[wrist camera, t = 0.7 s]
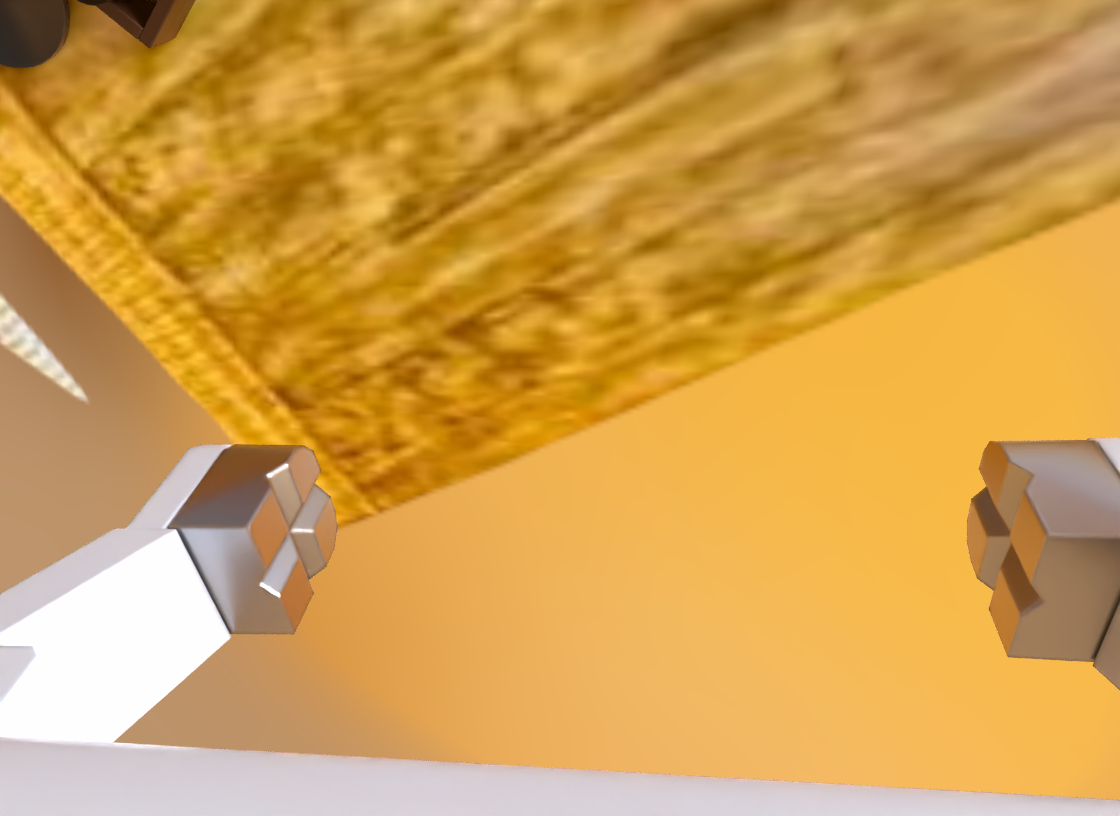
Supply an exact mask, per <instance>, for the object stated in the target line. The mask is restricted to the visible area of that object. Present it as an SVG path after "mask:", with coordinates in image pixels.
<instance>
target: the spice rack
mask: <svg viewBox="0 0 1120 816" xmlns="http://www.w3.org/2000/svg"><path fill="white" fill-rule="evenodd" d="M194 1H195V0H158V1H157V3H156V5H155V7H154V6H153V5H152V4H150V3H149V2H148V1H147V0H111V1H110V2H108V3H105V4H102V5H97V7H98V8H99V9H100V10H102V11H103V12H104V13H105V14H107V15H108V16H109V17H110V18H112V19H113V20H114V21H115V22H117V23H118V24H119V25H120V26H122V27H123V28H124V29H125V30H126V31H128V32H129V33H130V34H131V35H133V36H134V37H135V38H136V39H139V41H141V42H142V43H143V44H144V45H146V46H147V47H148V48H153V47H155V46H157V45H160V44H162V43H164V42H167V41H169V40H171V39H174V38H175V37H176V35H177V33H178V32H179V30H180V28H181V26H182V24H183V22H184V20H185V18H186V16H187V15H188V13H189V11H190V9H191V7H192V5H193V3H194Z"/></svg>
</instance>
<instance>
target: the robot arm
mask: <svg viewBox="0 0 1120 816" xmlns="http://www.w3.org/2000/svg"><path fill="white" fill-rule="evenodd" d="M979 470H980V473H981V475H982V477H983V480H984V482H985V484H986V487H985V488H984V489H983V490H982V491H980V492H979V493H978V494H977V495H976V496H974V497H973V498H972V499H971V504H970V509H969V514H968V519H967V544H968V549H969V554H970V559H971V563H972V565H973V568H974V571H975V573H976V576H977V578H978V579H979V580H980V581H981V582H983V583H984V584H985V585H987V586H988V587H989V588H991V589H992V590H993V591H994V592H993V597H992V600H991V603H990V607H989V611H990V613H991V616H992V618H993V621H994V623H995V626H996V628H997V631H998V633H999V636H1000V639H1001V641H1002V644H1003V646H1004V649H1005V651H1006V654H1007V656H1008V657H1014V658H1032V659H1049V660H1066V661H1085V662H1094V664H1093V666H1094V667H1095V668H1096V669H1097V670H1098V671H1099V672H1100V673H1101V674H1103V675H1104V676H1105V677H1106V678H1107V679H1108V680H1109V681H1110V682H1111V683H1112V684H1114V685H1115V686H1116V687H1117V688H1118V689H1119V690H1120V438H1090V439H1087V440H1041V441H1040V440H1039V441H990V442H989V443H988V445H987V447H986V448H985V450H984V452H983V456H982V459H981V463H980V467H979ZM320 472H321V469H320V466H319V464H318V461H317V459H316V456H315V454H314V451H313V450H311V449H309V448H308V447H306V446H302V445H239V444H235V445H198V446H195V447H193V448H190V449H188V450H187V452H186V453H185V454H184V455H183V457H182V458H181V459H180V461H179V462H178V463H177V464H176V466H175V467H174V468H173V470H172V471H171V472H170V474H168V476H167V477H166V478H165V480H164V481H163V482H162V483H161V485H160V486H159V487H158V488H157V490H156V491H155V492H154V494H153V495H152V496H151V497H150V498H149V500H148V501H147V502H146V504H145V505H144V506H143V507H142V509H141V510H140V511H139V513H138V514H137V515H136V516H135V517H134V519H133V520H132V521H131V523H130V524H129V525H128V526H127V528H126V529H113V530H111V531H109V532H108V533H106V534H104V535H102V536H101V537H99V538H97V539H95V540H93V541H92V542H90V543H88V544H86V545H85V546H83V547H81V548H80V549H78V550H76V551H74V552H72V553H71V554H69V555H67V556H65V557H63V558H62V559H60V560H58V561H56V562H55V563H53V564H51V565H49V566H48V567H46V568H44V569H42V570H41V571H39V572H37V573H35V574H34V575H32V576H30V577H28V578H26V579H25V580H23V581H21V582H19V583H18V584H16V585H15V586H12V587H11V588H9V589H7V590H5V591H4V592H2V593H0V816H1120V800H1111V799H1095V798H1078V797H1060V796H1042V795H1025V794H1007V793H989V792H972V791H954V790H937V789H920V788H902V787H883V786H866V785H848V784H831V783H812V782H795V781H777V780H759V779H742V778H741V779H740V778H724V777H706V776H689V775H671V774H653V773H635V772H619V771H601V770H584V769H583V770H582V769H566V768H549V767H531V766H513V765H496V764H479V763H462V762H444V761H443V762H442V761H427V760H426V761H425V760H408V759H392V758H374V757H356V756H338V755H321V754H303V753H285V752H269V751H268V752H267V751H251V750H231V749H215V748H197V747H181V746H180V747H179V746H163V745H162V746H161V745H145V744H128V743H113V742H114V741H115V740H116V739H117V738H118V737H119V736H120V735H121V734H123V733H124V732H125V731H126V730H127V729H128V728H129V727H131V726H132V725H133V724H134V723H135V722H136V721H137V720H139V719H140V718H141V717H142V716H143V715H144V714H145V713H146V712H148V711H149V710H150V709H151V708H152V707H153V706H154V705H155V704H157V703H158V702H159V701H160V700H161V699H162V698H163V697H165V696H166V695H167V694H168V693H169V692H170V691H171V690H172V689H174V688H175V687H176V686H177V685H178V684H179V683H180V682H181V681H183V680H184V679H185V678H186V677H187V676H188V675H189V674H191V673H192V672H193V671H194V670H195V669H196V668H197V667H198V666H199V665H201V664H202V663H203V662H204V661H205V660H206V659H207V658H208V657H210V656H211V655H212V654H213V653H214V652H215V651H216V650H218V649H219V648H220V647H221V646H222V645H223V644H224V643H225V642H227V641H228V640H229V639H230V638H231V635H230V634H294V633H295V631H296V629H297V627H298V625H299V623H300V621H301V619H302V617H303V615H304V613H305V611H306V608H307V606H308V604H309V602H310V600H311V598H312V596H313V594H314V592H313V590H312V587H311V584H310V582H309V579H310V578H312V577H313V576H315V575H316V574H317V573H318V572H320V571H321V570H323V569H324V568H325V567H327V564H328V562H329V560H330V557H331V555H332V553H333V551H334V546H335V540H336V533H337V522H336V513H335V509H334V506H333V503H332V500H331V497H330V496H329V495H328V494H327V493H326V492H324V491H323V490H322V489H321V488H320V487H318V486H317V485H316V484H315V482H316V480H317V478H318V476H319V474H320Z"/></svg>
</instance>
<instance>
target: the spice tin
mask: <svg viewBox="0 0 1120 816" xmlns="http://www.w3.org/2000/svg"><path fill="white" fill-rule="evenodd" d="M77 1H79V2H81V3H84V4H87V5H93V6H97V5H102V4H105V3H108V2H110V1H111V0H77Z"/></svg>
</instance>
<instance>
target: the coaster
mask: <svg viewBox="0 0 1120 816" xmlns="http://www.w3.org/2000/svg"><path fill="white" fill-rule="evenodd" d="M68 28H69V7H68V2H67V0H0V65H4V66H7V67H13V68H29V67H34V66H38V65H41V64H43V63H45V62H47V61H49V60H51V59H52V58H53V57H54V56H56V54H57V53H58V52H59V51H60V50H61V48H62V46H63V44H64V43H65V40H66V37H67V34H68Z"/></svg>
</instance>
